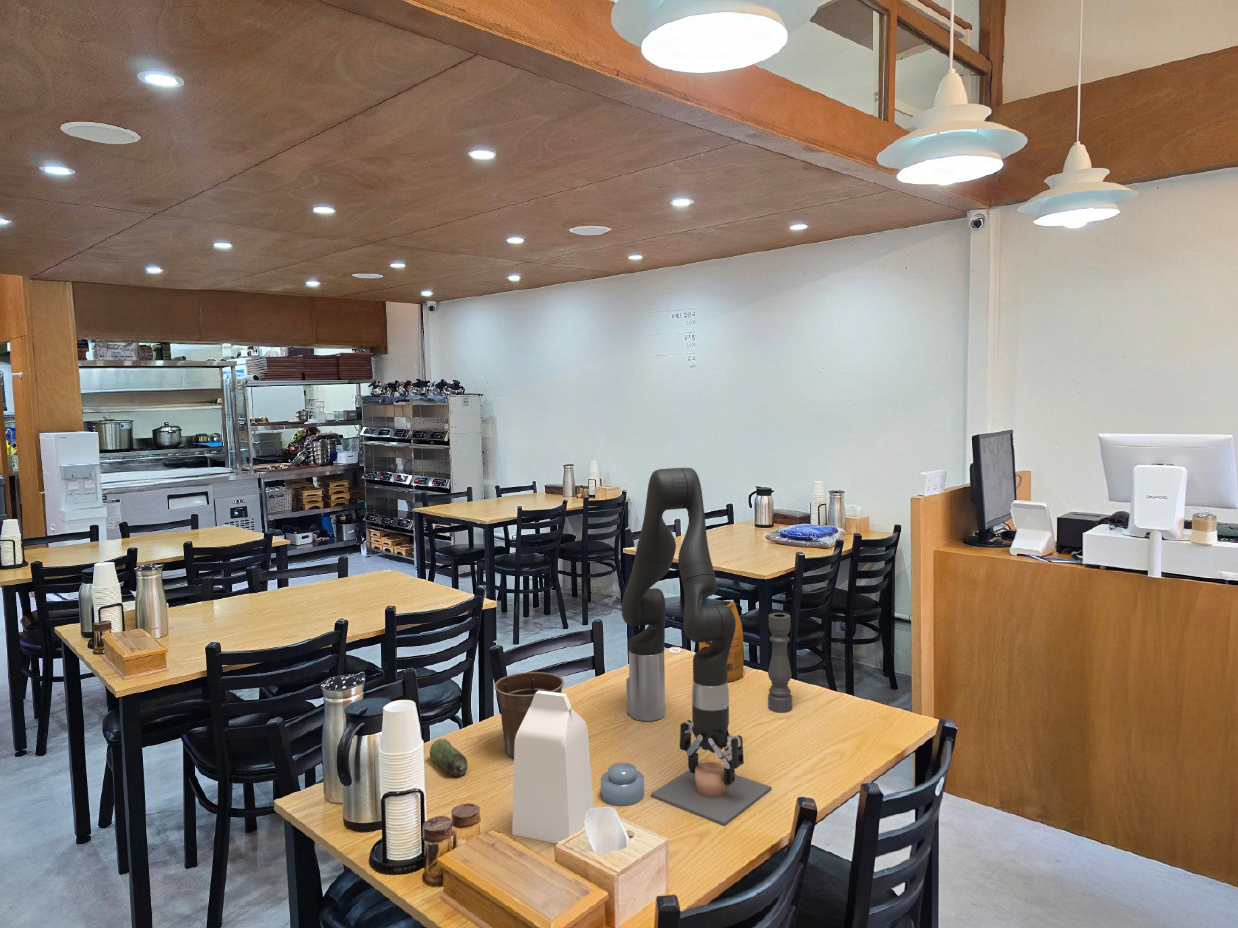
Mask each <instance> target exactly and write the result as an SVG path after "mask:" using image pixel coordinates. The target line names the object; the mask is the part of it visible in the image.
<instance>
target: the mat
mask: <svg viewBox="0 0 1238 928" xmlns="http://www.w3.org/2000/svg"><path fill="white" fill-rule="evenodd" d="M701 763H702V762H701V761H700V762H698V765H699V764H701ZM771 791H772V786H770V785H767V784H765V783H762V782H758V781H755V780H753V779H750V778H747V777H744V776H742V775H738V774H736V773H735V780H734V782H733V783H732V784H730V785H729V786H727V792H726V794H725V795H723V796H721V797H717V798H707V797H703V796H701V795H699V794H698V793H697V792H696V783H695V773H694V774H693V773H690V769H689V768H688V769H687V770H686V771H683V772H682V773H681V774H680V775H678V776H676V777H675V778H673V779H672V780H670V781H668V782H666V783H665V784H664V785H662V786H661V787H659V788H657V789H655V790H654V791H653V792H651V793H650V797H651V798H652V799H656V800H659V801H661V802H663V803H666V804H668V805H670V806H673V807H676V808H678V809H681V810H682V811H685V812H689V813H690V814H694V815H695V816H699V817H701V818H703V819H706V820H709V821H711V822H713V823H716V824H719V825H720V826H721V825H722V826H723V827H724V826H727V825H728V824H729V823H731V822H732V821H733V820H734V819H736V818H737V817H738V816H740V814H742V813H743V812H744V811H746V810H747V809H748V808H750V807H751V806H753V805H754V804H756V802H758V801H759V800H761V798H762V797H764V796H766V795H767V794H768V793H769V792H771Z"/></svg>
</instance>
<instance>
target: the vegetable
mask: <svg viewBox="0 0 1238 928" xmlns="http://www.w3.org/2000/svg"><path fill="white" fill-rule="evenodd" d="M429 757H430V758H431V760H433V761H434V762H435V763H437V765H439V767H440V768H442V770H444V771H445V772H446V773H447V774H449V775H450V776H454V777H461V776H462V775H464V774H465V773H466V772H467V770H468V765H469V764H468V760H467V758H466V756H465V755H464V754H462V752H460V751H459V750H458V749H457V748H455V747H454V746H453V745H452V744H451V742H450V741H449V740H447V739H445V738H439V739H436V740H435V741H433V743H432V744H431V746H430V749H429Z"/></svg>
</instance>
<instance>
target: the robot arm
mask: <svg viewBox="0 0 1238 928" xmlns="http://www.w3.org/2000/svg"><path fill="white" fill-rule="evenodd" d="M645 500H646V501H645V509H644V516H643V521H642V525H641V530H640V534H639V537H638V541H637V546H636V550H635V555H634V560H633V565H632V570H631V574H630V575H629V576H630V577H629V580H628V582H627V586H626V587H625V590H624V593H623V597H622V601H621V617H622V619H623V621H624V623H625V624H627V625H628V626H631V627H639V626H647V627H646V628H645V629H644V630H643V631H640V633H638V634H636V635H634V636H632V637H631V638H629V641H628V667H629V668H628V669H629V670H628V671H629V672H628V674H629V675H628V677H627V678H626V679H625V680H626V683H625V685H626V714H628V715H629V716H630V717H631V718H633V719H634V720H637V721H643V722H654V721H658V720H661V719H663V718H664V717H665V716H666V696H665V695H666V685H665V683H666V682H665V680H666V678H665V677H666V676H665V639H666V635H665V634H666V633H665V631H666V628H665V627H666V612H667V611H666V608H667V607H666V600H665V599H666V598H665V595H664V592H663V591H662V590H661V589H660V588H658V587H657V588H656V587H655V588H652V587H653V586H654V585H655V584H657V583H658V582H659V581H661V579H662V578H663V577H665V575H667V573H668V572H669V571H670V569H671V567H672V564H673V561H674V558H675V555H676V554H675V553H676V550H677V542H676V539H675V537H674V535H673V533H672V531H671V530H670V528H669V527H668V525H667V524H666V522H665V520H664V518H663V515H664V513H665V512H666V511H669V510H672V511H673V510H684V509H685V510H686V511H687V516H688V524H687V529H686V532H685V534H684V538H683V540H682V543H681V545H680V549H679V552H678V556H677V557H678V558H677V559H678V560H677V561H678V562H677V563H678V569H679V573H680V578H681V583H682V587H683V592H684V593H683V595H684V611H683V630H684V632H685V635H686V636H687V638H688V639H689V640H690V641H692V642H693V643H699V642H707V641H712V643H711V645H710V646H709V647H708V648H706V649H703V650H701V651H699V650H698V651H697V652H695V653H694V655H693V657H692V688H691V704H692V705H691V708H692V709H691V711H692V712H691V715H692V716H691V718H692V720H691V719H687V720H686V721H683V722H682V723H680V727H679V728H680V731H679V749H680V751H683V752H686V755H687V766H688V767H687V768H688V770H689V769H690V773H693V774H694V773H695V768H696V766H697V765H698V763H699V752H698V751H699V750H704V751H709V752H711V753H712V754H715V755H716V756H717V758H718V760H720V761H721V762H722V765H723V766H725V768H724V785H726V786H729V785H730V784H732V783H733V782H734V780H735V774H736V773H735V771H736V769H738V768H739V767H740V766H742V765H744V762H745V760H744V758H745V757H744V746H743V745H744V743H743V736H742V735H740V734H738V735H737V736H734V735H731V734H730V733H729V724H730V699H729V697H730V694H729V693H730V692H729V691H730V690H729V685H728V681H727V661H728V657H729V652H730V648H731V644H732V641H733V638H734V634H735V629H736V620H735V616H734V613H733V611H732V610H731V609H730V608H729V607H728V606H727V604H726V605H725V604H716V605H707V606H706V605H705V606H701V603H700V602H701V600H703V599H704V600H705V599H707V598H709V597H711V596H713V595H714V594H716V593H717V591H718V581H717V578H716V574H715V570H714V567H713V562H712V558H711V554H710V549H709V545H708V544H709V543H708V536H707V535H708V534H707V525H706V517H705V516H706V515H705V507H704V506H705V505H704V498H703V490H702V485H701V482H700V478H699V475H698V472H696V470H695V469H693V468H692V467H673V468H670V467H669V468H659V469H656V470H654V471H653V472H652V473H651V475H650V478H649V481H648V485H647V493H646V499H645ZM692 733H693V735H694V737H695V739H694V740H693V742H692ZM728 743H729V744H728ZM722 750H724V751H722Z"/></svg>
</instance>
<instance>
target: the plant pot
mask: <svg viewBox="0 0 1238 928" xmlns="http://www.w3.org/2000/svg"><path fill="white" fill-rule="evenodd" d="M564 685H565V681H564V679H563V678H562V677H561V676H559V675H557V674H554V673H550V672H543V671H541V672H539V671H527V672H517V673H513V674H510V675H506V676H504V677H500V679H498V680H497V681H496V682H495V683H494V690H495V691H496V695H497V703H498V705H499V707H500V708H499V709H500V718H501V725H502V734H503V744H504V745H503V747H504V752H505V754H506V755H507V756H508V757H511V758H512V759H514V744H515V737H516V734H517V732H518V730H519V727H520V725H521V723H522V721H523V719H524V717H525V715H526V713H527V711H528V709H529V707H530V706H531V703H532V700H533V698H534V695H535V693H536V692H537V691H547V692H555V693H562V690H563V689H562V688H563V687H564Z"/></svg>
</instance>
